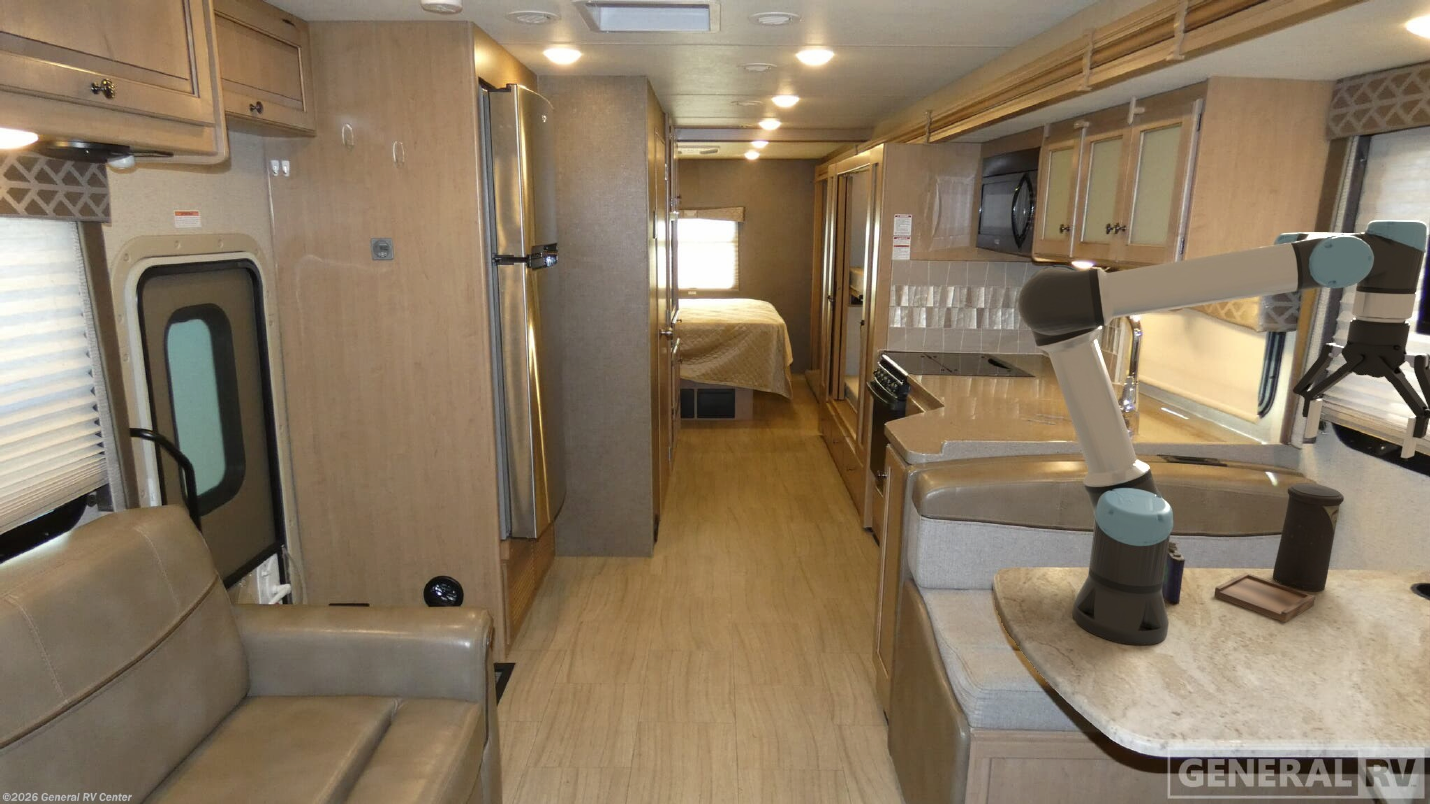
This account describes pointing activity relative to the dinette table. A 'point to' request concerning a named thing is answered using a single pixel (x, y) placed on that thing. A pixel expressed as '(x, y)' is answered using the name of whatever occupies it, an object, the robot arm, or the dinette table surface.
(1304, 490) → the container
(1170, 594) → the flask
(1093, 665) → the dinette table surface
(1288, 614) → the square wooden tray
